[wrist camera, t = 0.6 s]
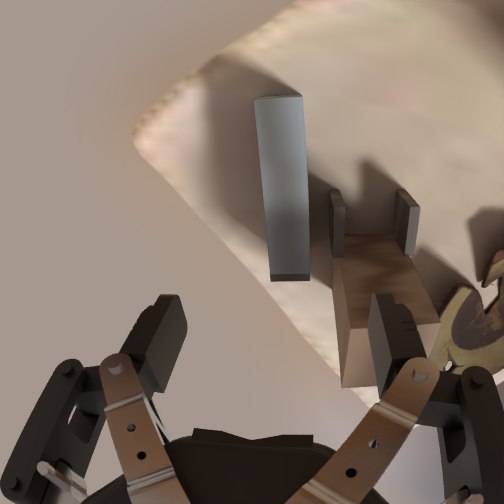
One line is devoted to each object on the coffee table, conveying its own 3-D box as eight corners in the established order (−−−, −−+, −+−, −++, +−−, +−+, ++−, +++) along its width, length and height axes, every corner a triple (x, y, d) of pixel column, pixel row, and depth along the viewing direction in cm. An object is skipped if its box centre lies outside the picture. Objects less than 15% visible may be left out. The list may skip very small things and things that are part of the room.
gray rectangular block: (301, 94, 26) (302, 96, 21) (308, 248, 34) (309, 280, 29) (261, 96, 27) (253, 99, 22) (275, 249, 35) (270, 281, 30)
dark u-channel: (405, 190, 29) (464, 264, 17) (393, 287, 35) (423, 381, 23) (329, 190, 31) (349, 268, 19) (327, 289, 37) (335, 388, 25)
